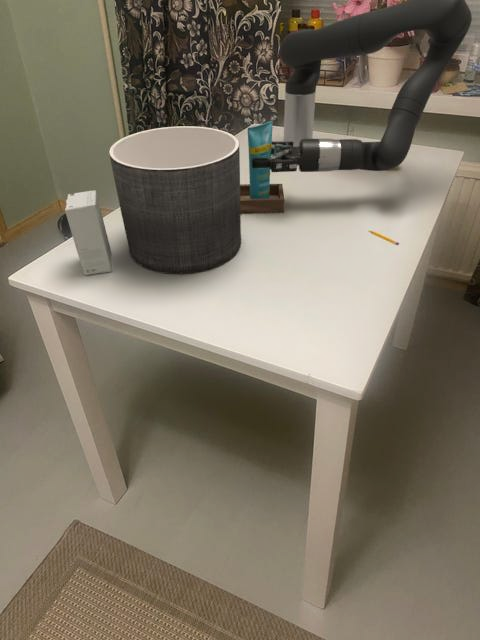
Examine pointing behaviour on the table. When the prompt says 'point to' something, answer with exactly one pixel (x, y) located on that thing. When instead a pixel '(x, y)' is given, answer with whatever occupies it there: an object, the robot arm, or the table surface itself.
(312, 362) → the table surface
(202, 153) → the planter
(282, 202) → the tray
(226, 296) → the table surface
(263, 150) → the tube
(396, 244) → the pencil
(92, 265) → the skincare box
